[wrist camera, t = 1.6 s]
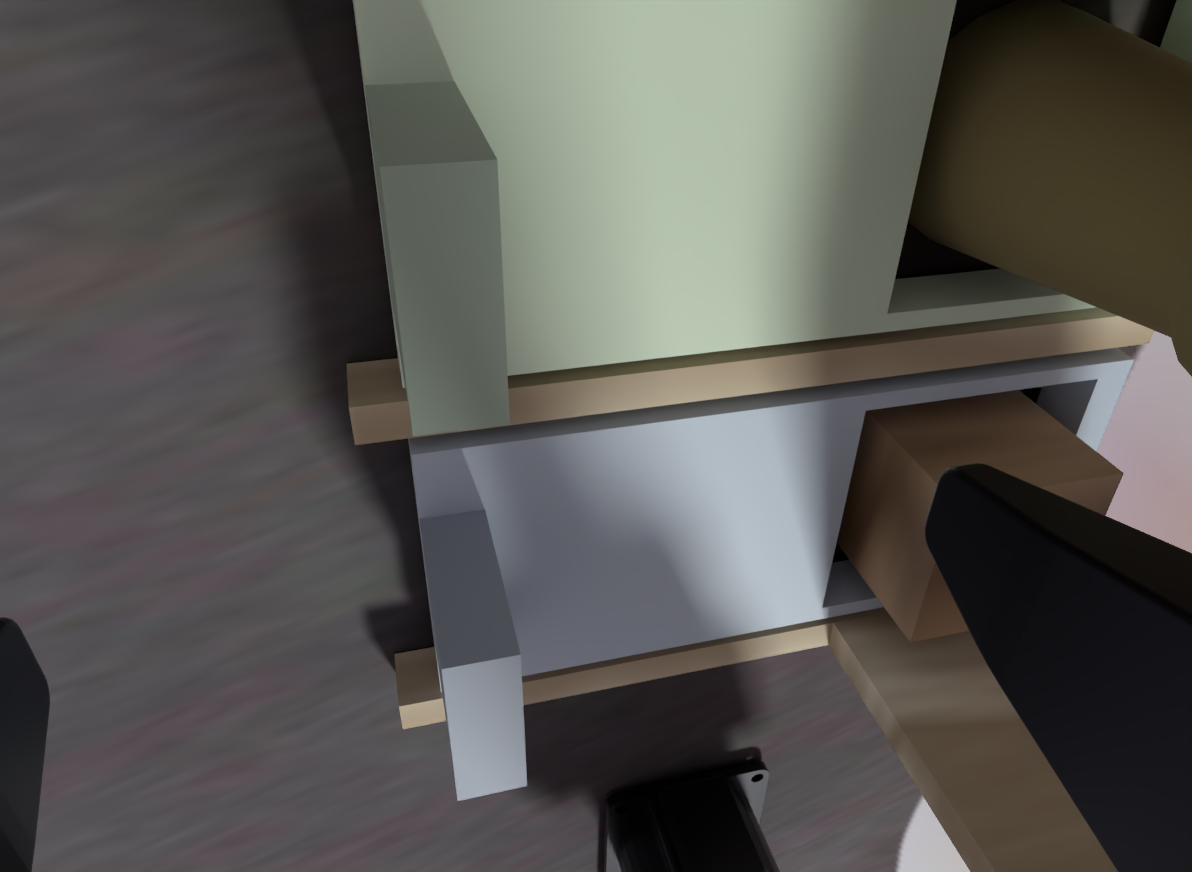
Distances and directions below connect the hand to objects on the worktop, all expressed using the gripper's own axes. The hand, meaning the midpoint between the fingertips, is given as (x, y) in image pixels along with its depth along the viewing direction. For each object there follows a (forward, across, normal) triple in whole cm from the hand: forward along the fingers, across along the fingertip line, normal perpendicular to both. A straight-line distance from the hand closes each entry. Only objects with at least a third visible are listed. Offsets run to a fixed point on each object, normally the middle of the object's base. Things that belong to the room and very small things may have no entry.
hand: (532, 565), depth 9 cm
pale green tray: (+13, -9, 0) cm, 16 cm away
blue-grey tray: (+13, -9, +10) cm, 19 cm away
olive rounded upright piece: (+13, -14, 0) cm, 19 cm away
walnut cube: (+13, -14, +10) cm, 22 cm away
